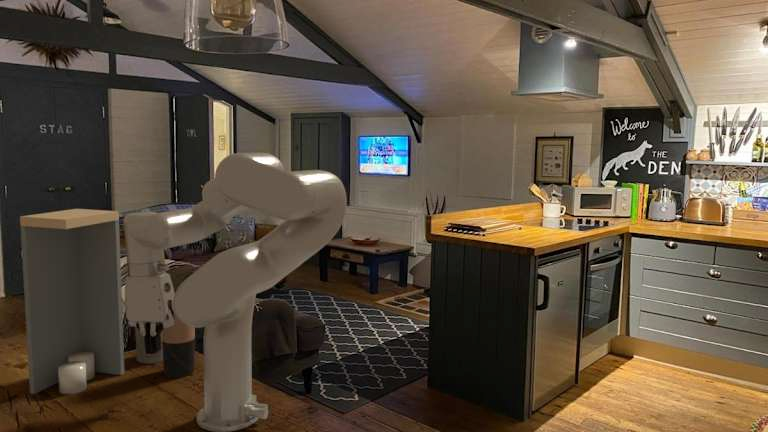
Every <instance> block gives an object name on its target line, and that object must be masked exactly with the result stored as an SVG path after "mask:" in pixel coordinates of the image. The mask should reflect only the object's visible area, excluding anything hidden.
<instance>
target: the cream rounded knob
mask: <svg viewBox="0 0 768 432" xmlns="http://www.w3.org/2000/svg"><path fill="white" fill-rule="evenodd" d="M76 361H79V362H84V363H86V380H87V381H89V380H92V379H94V378H95V376H96V372H95V367H94V353H93V352H90V351H81V352H76V353H73V354H70V355H69V356H68V362H76Z"/></svg>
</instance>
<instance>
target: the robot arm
mask: <svg viewBox="0 0 768 432" xmlns="http://www.w3.org/2000/svg"><path fill="white" fill-rule="evenodd" d="M201 192H202V193H201V197H202V200H201V201H199V202H198V203H197V204H195V205H193V206H191V207H189V208H181V209H176V210H174V209H173V210H169V211H163V212H155V211H140V212H138V211H137V212H130V213H128V214H126V215H125V216H124V218H123V231H124V234H123V235H124V242H125V245H124V246H125V254H126V255H125V257H126V265H127V266H126V267H127V275H128V276H126V277H125V283H124V285H125V286H124V310H125V316H126V319H127V320H128V322H127V323H128V325H129V326H131V327H135V328H136V327H137V328H138V329H139V330H140V332H141V335H142V336H144V341H145V350H146V354H155V353H157V352H158V351H160V350H161V335H160V333H162V332H163V330H164V328H167V327H170V326H172V325H174V320H173V317H175V316H177V318H178V319H179V320H180V321H181V322H182V323H183V324H185V325H187V326H189V327H194V328H195V329H198V328H204V331H203V341H202V342H203V347H202V348H203V389H204V390H203V391H204V392H203V394H204V396H203V399H204V406H203V408H201V409H200V410H199V411H198V412H197V414H196V423H197V425H198V426H199V427H200V428H202V429H203V430H207V431H210V432H236V431H240V430H242V429H246V428H248V427H250V426H252V425H253V424H255V423H256V422H257V421H258V420H259V419H262V420H263V419H264V420H266V419H267V418H268V416H269V406H268V404H265V403H259V402H258V401H257V395H256V394H253V393H252V391H253V388H252V387H253V384H252V383H253V381H252V379H253V378H252V374H253V372H252V369H253V368H252V342H253V341H252V337H253V336H252V330H253V329H252V328H253V326H252V325H253V316H254V315H253V314H254V310H255V305H256V297H257V294H258V295H259V294H260V293H263V292H265V291H267V290H269V289H271V288H273V287H274V286H275V285H277V284H278V283H279V282H280V281H282V279H284V278H285V277H286V276H288V275H289V274H290V273H292V272H293V271H295V270H296V269H297V268H299V267H301V265H303V263H305V262H306V261H307V260H309V259H310V258H311V257H313V256H315V255H316V254H317V253H318V252H319V251H320V250H321V249H323V248H324V247H325V246H327V245H328V244H329V242H330V241H332V239H333V238H334V237H335V235H337V233H338V231H339V230H340V228H341V227H342V224H343V222H344V220H345V216H346V213H347V205H348V204H347V203H348V201H347V192H346V187H345V186H344V184H343V182H342V180H341V179H340V178H339V177H338V176H337V175H335V174H333V173H332V172H330V171H327V170H323V169H308V170H307V169H306V170H298V171H297V170H294V171H290V170H289V171H288V170H286V169H285V167H284V164H283V162H282V161H280V160H279V158H278V157H277V156H275V155H273V154H271V153H267V152H263V151H262V152H261V151H260V152H236V153H232V154H229V155H226V157H224V158H223V159H222V160H221V161H220V162H219V163H218V165H217V167H216V170H215V173H214V178H212V179H210V180H208V181H207V182H206V183H205V184H204V185H203V187H202V191H201ZM248 209H251V210H254V211H256V212H259V213H262V214H264V215H268V216H270V217H273V218H276V219H279V220H284V221H283V222H281V223H280V224H278V225H277V226H276V227H275V228H273V230H271V231H270V232H269V233H267V234H266V235H264V236H262V237H261V238H260V239H258V240H257V241H254V242H250V243H246V244H242V245H238V246H235V247H230V248H228V249H226V250H223V251H221V252H220V253H217V254H216V255H215V256H213V257H212V258H211V259H209V260H208V261H207V262H206V263H204V264H203V265H201V266H200V268H198V269H197V270H195V271H194V272H193V273H192V274H190V275H189V276H188V277H186V279H184V280H183V281H182V282H181V283H180V284H179V286H177V288H176V291H175V290H174V289H175V288H174V285H173V282H172V279H171V275H170V273H167V272H166V271H169V270H170V265H169V264H166V259H165V249H166V250H167V249H171V248H175V247H181V246H183V245H189V244H193V243H197V242H200V241H202V240H204V239H206V238H207V237H209V236H212V235H213V234H214V233H217V232H219V231H221V230H222V229H223V228H225V227H226V226H227V225H228V224H229V223H230V221H232V218H234V217H236V216H237V215H239V214H241V213H243V212H245V211H247V210H248ZM166 273H167V274H166ZM174 292H176V293H175V294H174ZM164 321H165V322H164Z"/></svg>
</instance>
